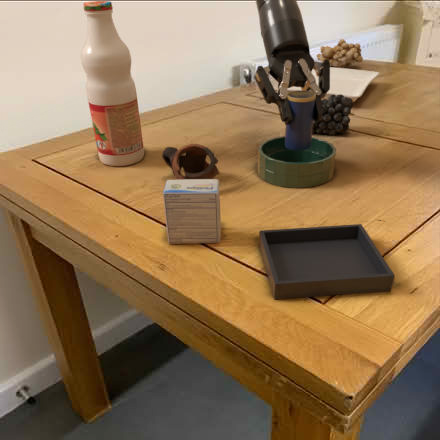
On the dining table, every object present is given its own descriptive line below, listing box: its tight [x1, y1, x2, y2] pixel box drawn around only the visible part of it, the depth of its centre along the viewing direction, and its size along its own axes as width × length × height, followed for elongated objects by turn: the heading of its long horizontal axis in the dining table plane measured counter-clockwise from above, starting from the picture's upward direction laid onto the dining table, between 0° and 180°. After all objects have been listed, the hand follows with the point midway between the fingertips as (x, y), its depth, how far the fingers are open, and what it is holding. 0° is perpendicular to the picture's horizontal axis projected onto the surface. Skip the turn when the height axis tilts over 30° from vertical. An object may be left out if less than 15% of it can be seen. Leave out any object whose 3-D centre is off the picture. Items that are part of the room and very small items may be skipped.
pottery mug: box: [161, 143, 221, 180], centre depth 86 cm, size 12×10×8 cm
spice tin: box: [284, 91, 316, 150], centre depth 83 cm, size 5×5×9 cm
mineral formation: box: [316, 38, 364, 68], centre depth 154 cm, size 8×13×15 cm
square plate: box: [269, 66, 380, 103], centre depth 132 cm, size 27×27×4 cm
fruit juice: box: [80, 0, 145, 167], centre depth 89 cm, size 9×9×28 cm
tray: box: [258, 223, 395, 300], centre depth 64 cm, size 15×13×2 cm
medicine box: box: [162, 178, 222, 245], centre depth 69 cm, size 8×4×9 cm, turn 88°
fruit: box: [312, 94, 356, 136], centre depth 105 cm, size 9×8×15 cm
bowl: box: [257, 135, 337, 189], centre depth 88 cm, size 14×14×5 cm
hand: (303, 120), depth 81 cm, fingers closed on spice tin, 5 cm apart
